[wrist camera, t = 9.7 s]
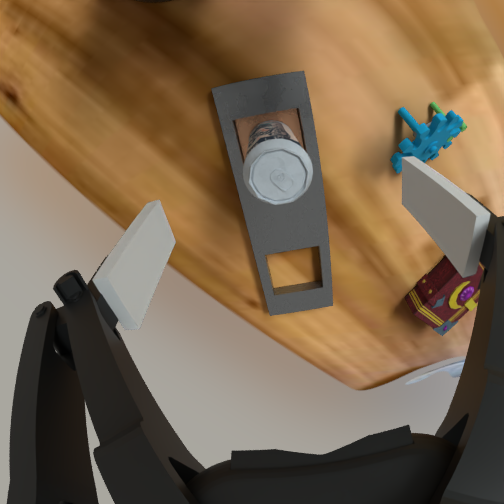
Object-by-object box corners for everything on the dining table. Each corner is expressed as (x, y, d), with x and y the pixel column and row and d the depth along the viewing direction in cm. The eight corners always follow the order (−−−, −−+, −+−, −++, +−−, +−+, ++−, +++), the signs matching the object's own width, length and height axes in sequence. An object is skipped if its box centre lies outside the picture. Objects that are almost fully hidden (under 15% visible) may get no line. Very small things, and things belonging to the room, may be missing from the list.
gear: (390, 189, 29) (409, 143, 19) (362, 148, 31) (369, 94, 21) (454, 155, 27) (484, 109, 18) (427, 119, 29) (446, 68, 19)
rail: (213, 88, 25) (211, 88, 24) (301, 71, 24) (303, 70, 23) (269, 308, 41) (269, 315, 40) (331, 298, 40) (332, 305, 39)
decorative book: (401, 295, 40) (413, 317, 36) (471, 221, 32) (489, 239, 28) (433, 318, 43) (443, 338, 39) (493, 256, 36) (508, 274, 31)
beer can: (270, 110, 26) (277, 126, 16) (304, 141, 28) (330, 176, 18) (239, 143, 28) (226, 180, 18) (273, 172, 30) (279, 223, 20)
